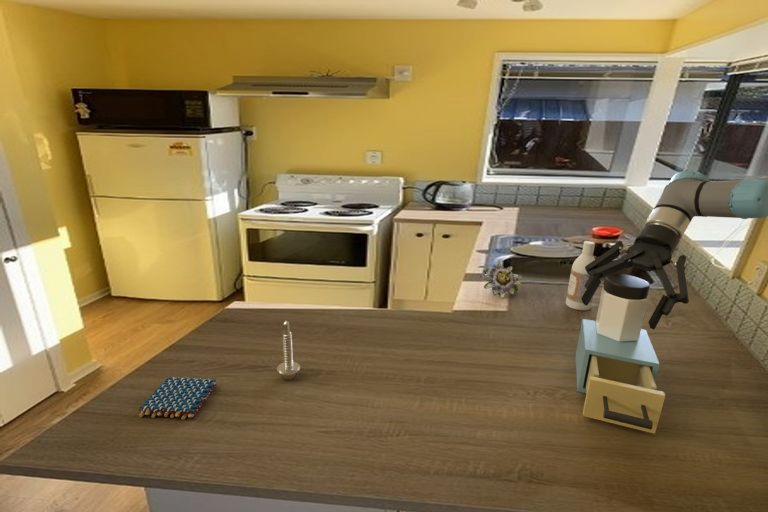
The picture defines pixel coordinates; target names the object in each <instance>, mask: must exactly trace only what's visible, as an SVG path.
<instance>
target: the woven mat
mask: <svg viewBox="0 0 768 512" xmlns="http://www.w3.org/2000/svg"><path fill="white" fill-rule="evenodd" d="M163 381H164V382H162V383H161V384H160V385H159V387H157V389H155V390H154V391H155V392H153V393H152V394H150V396H149V397H148V398H147V399H146V400H145V403H143V404H141V405H139V406H140V407H139V408H138V411H139V412H140V414H138V417H140V418H143V417H144V416H145V415H146V416H149V415H150V418H152V419H155V418H156V417H157V416H158V417H162V416H163V417H164V418H168V417H169V418H171V419H173V418H174V417H176V418H177V417H178V418H179V417H180V419H181V420H182V421H183V420H186V419H187V417H188V418H189V419H191V418H193V417H194V416H195V415H196V413H198V412H199V410H200V408H201V406H202V405H203V404H204V403H205V402H206V401H207V399H208V397H209V396H210V394H211V393H212V391H213V390H214V388H215V387H216V386H218V384H217V383H216V382H217V379H210V378H205V379H202V378H201V377H200V378H195V377H193V378H190V377H189V378H188V377H186V376H185V377H181V378H180V376H178V377H174V376H172V377H171V376H169V377H167V378H166V379H164V380H163ZM169 414H170V415H169Z"/></svg>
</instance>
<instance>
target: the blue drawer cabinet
mask: <svg viewBox="0 0 768 512" xmlns="http://www.w3.org/2000/svg"><path fill="white" fill-rule="evenodd" d="M595 323H596V320H591V319H585V318H582V320H581V326H580V331H579V335H578V336H579V337H578V341H577V347H576V352H575V356H574V357H575V374H576V391H577V392H578V393H583V394H586V384H585V375H586V370H587V365H588V360H589V355H590V354H591V355H596V356H601V357H606V358H611V359H616V360H621V361H626V362H631V363H636V364H641V365H646V366H649V367H650V370H651V373H652V376H653V378H654V381H655V382H656V380H657V376H658V373H659V370H660V369H659V368H660V365H661V363H660V362H659V359H658V356H657V354H656V350H655V348H654V346H653V344H652V341H651V338H650V336H649V333H648V331H647V329H643V328H641V332H640V336H639V340H638V341H624V342H618V341H615V340H613V339H610V338H608V337H605V336H603V335H600V334H598V333H597V330H596V325H595Z"/></svg>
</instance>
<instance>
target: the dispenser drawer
mask: <svg viewBox="0 0 768 512" xmlns="http://www.w3.org/2000/svg"><path fill="white" fill-rule="evenodd" d="M585 384H586V393H585V395H586V396H585V400H584V403H583V408H582V416H583V417H586V418H589V419H594V420H598V421H602V422H606V423H610V424H614V425H618V426H622V427H625V428H629V429H634V430H639V431H642V432H646V433H651V434H654V435H655V434H656V432H657V428H658V424H659V421H660V417H661V414H662V410H663V406H664V403H665V399H666V394H665V391H662V390H657V388H658V387H657V385H656V381H654V378H653V376H652V373H651V370H650V367H649V366H646V365H641V364H636V363H631V362H626V361H621V360H616V359H611V358H606V357H601V356H596V355H591V354H590V355H589V360H588V365H587V370H586V375H585Z"/></svg>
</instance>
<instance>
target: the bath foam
mask: <svg viewBox="0 0 768 512" xmlns="http://www.w3.org/2000/svg"><path fill="white" fill-rule="evenodd" d="M595 246H596V242H594V241H590V240H584V242H583V244H582V250H581V251H582V252H581V254H579V256H578V257H577V258H576V259H574V261H573V263H572V266H571V270H570V275H569V282H568V287H567V292H566V299H565V304H566V306H567V307H569V308H570V309H572V310H575V311H589V310H590V309H591V307H592V303H593V298H594V296H593V297H592V298H591V300H590V302H589V304H588V305H587V306H586V305H584V304H583V302H582V300H581V298H582V296H583V294H584V293H585V291H586V288H585V283H586V282H587V280H588V278H589V277H590V275H588V274H587V271H586V269H585V266H586V265H588V264H589V263H591V262H592V261H594V260H595V259H596V258H595V256H594V252H595Z"/></svg>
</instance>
